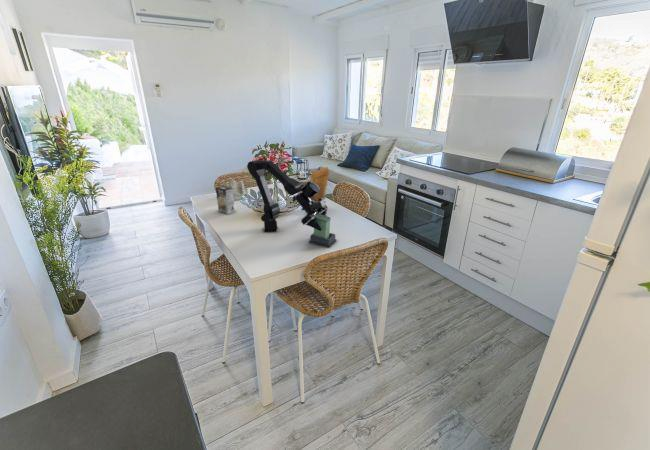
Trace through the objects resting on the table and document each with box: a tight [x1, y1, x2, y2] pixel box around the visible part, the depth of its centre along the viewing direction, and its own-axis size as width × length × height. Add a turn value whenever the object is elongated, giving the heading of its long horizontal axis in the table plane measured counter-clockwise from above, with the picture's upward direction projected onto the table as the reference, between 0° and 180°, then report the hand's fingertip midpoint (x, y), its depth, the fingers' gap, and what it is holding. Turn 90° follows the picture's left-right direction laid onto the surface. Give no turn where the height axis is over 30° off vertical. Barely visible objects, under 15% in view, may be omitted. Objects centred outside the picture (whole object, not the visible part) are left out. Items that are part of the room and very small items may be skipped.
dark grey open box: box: [308, 232, 337, 248], centre depth 162 cm, size 12×8×4 cm
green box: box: [313, 214, 332, 239], centre depth 159 cm, size 7×4×13 cm, turn 59°
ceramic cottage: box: [225, 178, 249, 201], centre depth 226 cm, size 16×16×15 cm
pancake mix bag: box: [309, 166, 329, 202], centre depth 197 cm, size 7×19×28 cm, turn 139°
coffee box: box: [215, 184, 236, 215], centre depth 198 cm, size 9×6×16 cm
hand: (325, 227), depth 159 cm, fingers open, 9 cm apart
